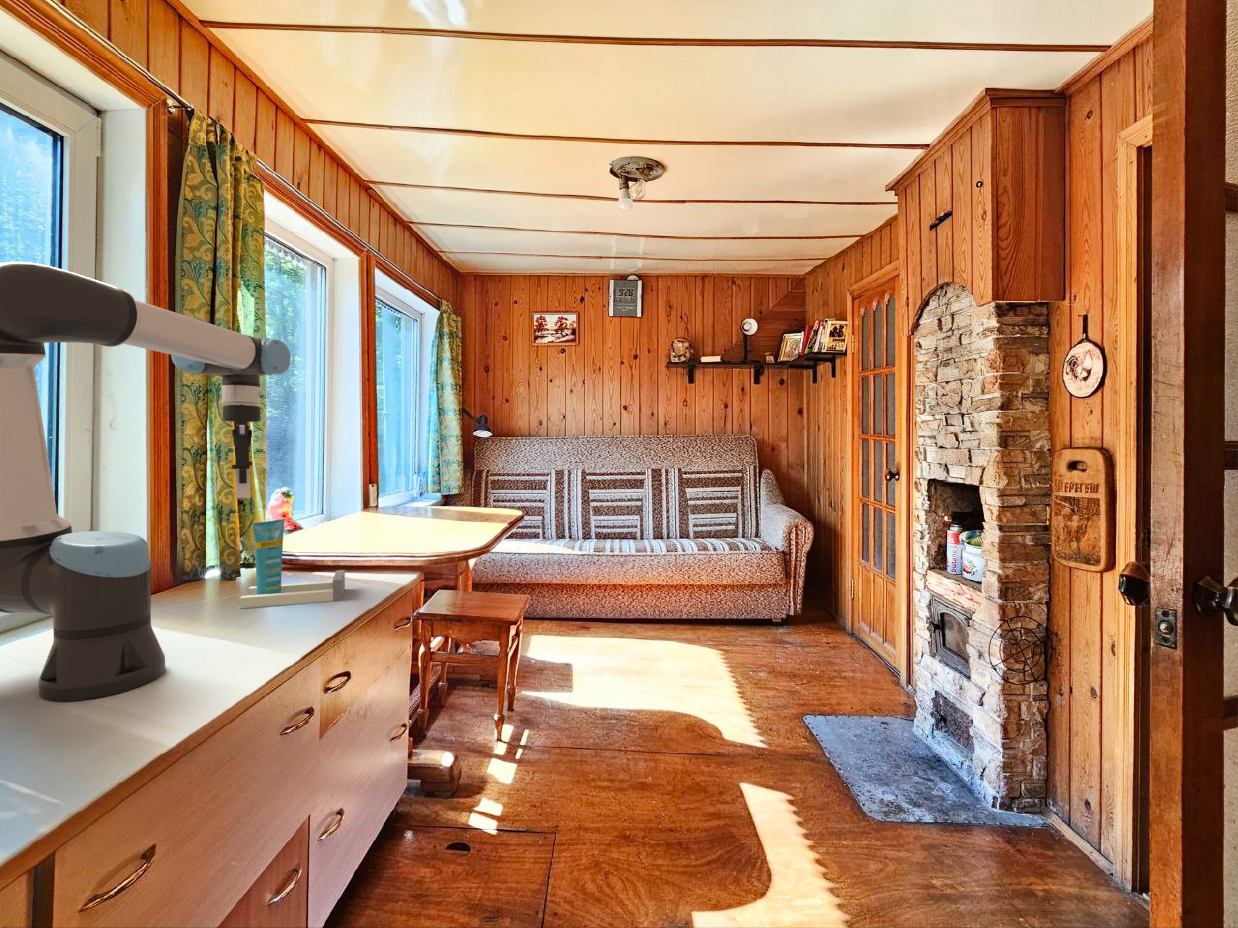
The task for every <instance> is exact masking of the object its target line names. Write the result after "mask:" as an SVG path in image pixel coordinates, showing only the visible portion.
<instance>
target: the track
mask: <svg viewBox="0 0 1238 928" xmlns="http://www.w3.org/2000/svg"><path fill="white" fill-rule="evenodd" d="M345 571H346V570H345V569H339V570H335V573H334V574H333V575H334V576H333V578H332V580H327V581H311V582H310V581H308V582H297V583H284V584H283V583H281V593H274V594H261V595H257V585H256V586H255V585H254V586H249V587H248V594H247V595H241V596H240V598H239V607H240V608H239V609H240V610H241V609H251V608H252V609H253V608H263V607H264V608H265V607H274V606H275V607H278V606H287V605H298V604H299V605H301V604H313V603H314V604H315V603H323V602H327V603H328V602H337V601H343V598H344V593H345V591H346V590H345V589H346V583H345V581H346V580H345V579H346V576H345V575H346V574H345V573H346V572H345Z"/></svg>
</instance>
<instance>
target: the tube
mask: <svg viewBox="0 0 1238 928" xmlns="http://www.w3.org/2000/svg"><path fill="white" fill-rule="evenodd" d="M252 532H253V541H254V542H253V543H254V555H255V556H254V557H255V580H256V586H257V595H261V594H274V593H281V584H282V571H283V569H282V568H283V547H284V532H285V518H281V519H279V518H278V519H273V520H269V521H268V520H267V521H259V522H252Z"/></svg>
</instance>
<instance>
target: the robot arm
mask: <svg viewBox="0 0 1238 928" xmlns="http://www.w3.org/2000/svg"><path fill="white" fill-rule="evenodd" d="M47 343H84V344H93V345H94V344H95V345H98V346H99V345H100V346H103V347H110V348H112V347H113V348H114V347H115V348H116V347H119V346H121V345H123V344H124V345H127V346H133V347H137V348H141V349H144V350H145V349H146V350H150V351H152V352H153V351H154V352H158V353H162V354H165V355H170V356H171V357H170V358H171V360H172V363H173V364H174V365H175V367H176V368H177V369H178V370H180V371H182V372H185V373H189V374H193V375H206V376H212V377H213V376H214V377H221V401H222V403H224V404H225V405H223V406H222V420H223V421H224V422H236V425H235V426H234V429H232V430H231V437H232V440H233V441H232V443H233V446H234V447H235V464H232V465H231V468H232V470H234V471H235V499H248V498H251V470H250V468H251V466H253V461H250V447H251V446H252V437H253V430H252V429H250V426H249V423H260V422H261V420H262V419H261V418H262V417H261V415H262V413H261V411H262V410H261V409H262V408H261V407H260V406H258V405H259V404H260V403H261V396H263V395H264V392H263V391H261V375H262V376H263V375H265V376H272V375H282V374H284V373H286V372H287V371H288V370H289V369H290V366H291V352H290V349H289V347H288V345H287V344H286V343H285V342H284V341H283V340H281V339H275V338H269V337H266V338H257V337H254V336H251V335H247V334H243V333H240V332H238V331H234V330H231V329H228V328H224V327H221V326H218V325H216V324H212V323H209V322H206V321H203V320H200V319H197V318H193V317H190V316H187V315H185V314H181V313H178V312H174V311H172V310H169V309H165V308H163V307H159V306H156V305H152V304H149V303H146V302H143V301H140V300H137V299H135V297H134V296H133V295H132V294H131V293H130V292H129V291H127V290H125V289H123V288H120V287H118V286H115V285H111V284H110V283H109V284H108V283H105V282H102V281H99V280H97V279H93V278H90V277H88V276H87V277H86V276H84V275H80V274H78V273H75V272H71V271H68V270H65V269H61V268H57V267H56V266H54V267H53V266H50V265H45V264H41V263H35V262H28V261H10V262H9V261H8V262H0V613H7V614H15V613H19V614H20V613H21V614H22V613H23V614H36V615H37V614H38V615H52V621H53V622H52V623H53V624H52V625H53V642H52V645H51V647H50V651H49V653H48V655H47V658H46V660H45V663H44V664H43V669H42V671H41V674H40V675H39V678H38V696H39V697H40V698H42V699H44V700H47V701H56V702H57V701H58V702H69V701H70V702H71V701H80V700H81V701H82V700H83V701H84V700H88V699H89V700H90V699H96V698H101V697H106V696H111V695H114V694H119V693H123V692H126V691H129V690H133V689H135V688H139V687H142V686H144V685H147V684H148V683H150V682H152V681H155V680H156V679H158V678H159V677H160V676H161V677H162V675H163V674H164V673H165V672H166V657H165V653H164V651H163V650H162V647H161V644H160V643H159V641H158V638H157V636H156V634H155V632H154V629H153V626H152V608H151V606H152V602H151V601H152V591H151V590H152V585H151V584H152V579H151V578H152V576H151V575H152V568H151V567H152V559H151V557H150V550H149V549H150V548H149V547H150V546H149V543H148V542H147V540H146V539H144V538H143V537H142V536H140V535H137V534H134V533H129V532H122V531H121V532H120V531H99V530H92V531H90V530H89V531H78V532H73V527H72V522H71V521H69V520H68V519H66V518H64V517H62V516H60V515H59V514H58V513H57V506H56V500H55V493H54V486H53V482H52V481H53V480H52V475H51V467H50V462H49V461H50V460H49V455H48V448H47V447H48V446H47V442H46V436H45V429H44V423H43V422H44V421H43V417H42V415H43V414H42V410H41V409H42V408H41V404H40V398H39V391H38V390H39V389H38V383H37V377H36V370H35V369H36V366H38V364H39V363H41V362H42V361H43V360H44V359H45V358H46V357H47V356H46V355H47V353H46V348H45V344H47Z"/></svg>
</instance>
